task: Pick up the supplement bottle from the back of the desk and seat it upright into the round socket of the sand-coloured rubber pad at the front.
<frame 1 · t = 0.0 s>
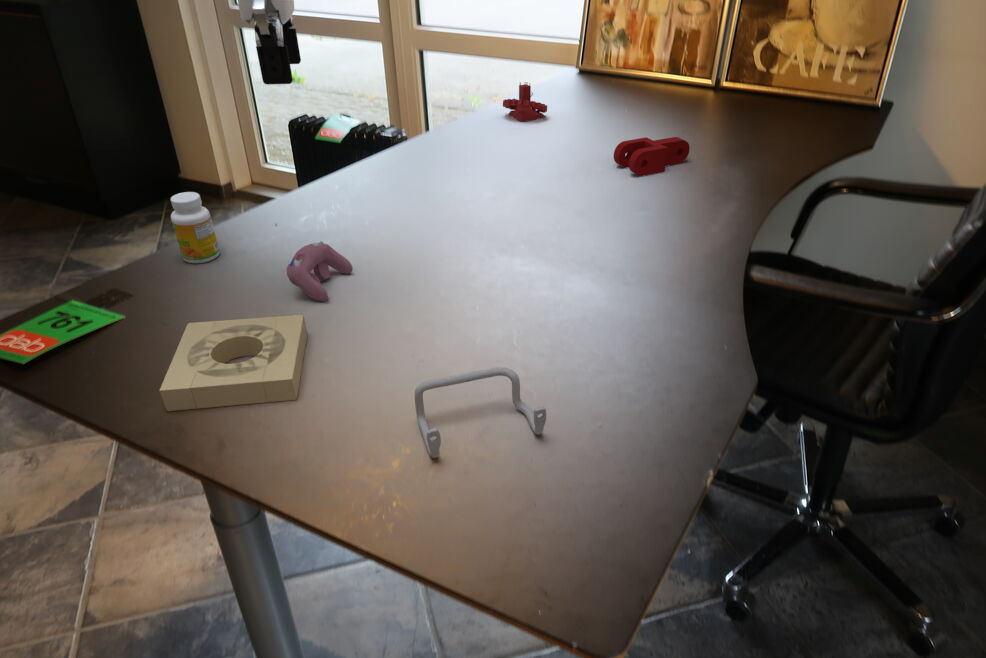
hand: (283, 73, 84), 30 cm above the table, tool pointing down, fingers open, 9 cm apart
video game controller: (322, 286, 103), on the table
red cross-shaped piece: (525, 118, 173), on the table
supplement bottle: (202, 257, 109), on the table
socket pad: (242, 369, 85), on the table
mechanical linkage: (653, 167, 146), on the table
bracket: (479, 434, 77), on the table
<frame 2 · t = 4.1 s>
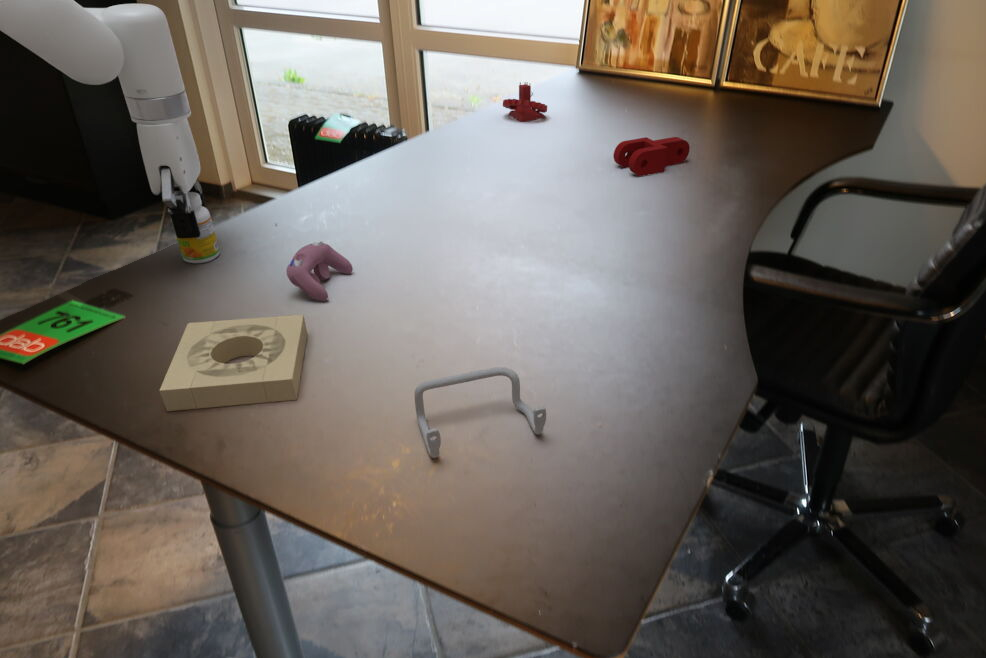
hand: (193, 227, 106), 5 cm above the table, tool pointing down, fingers closed on supplement bottle, 5 cm apart
supplement bottle: (202, 257, 109), on the table, touching gripper
everything else where it was.
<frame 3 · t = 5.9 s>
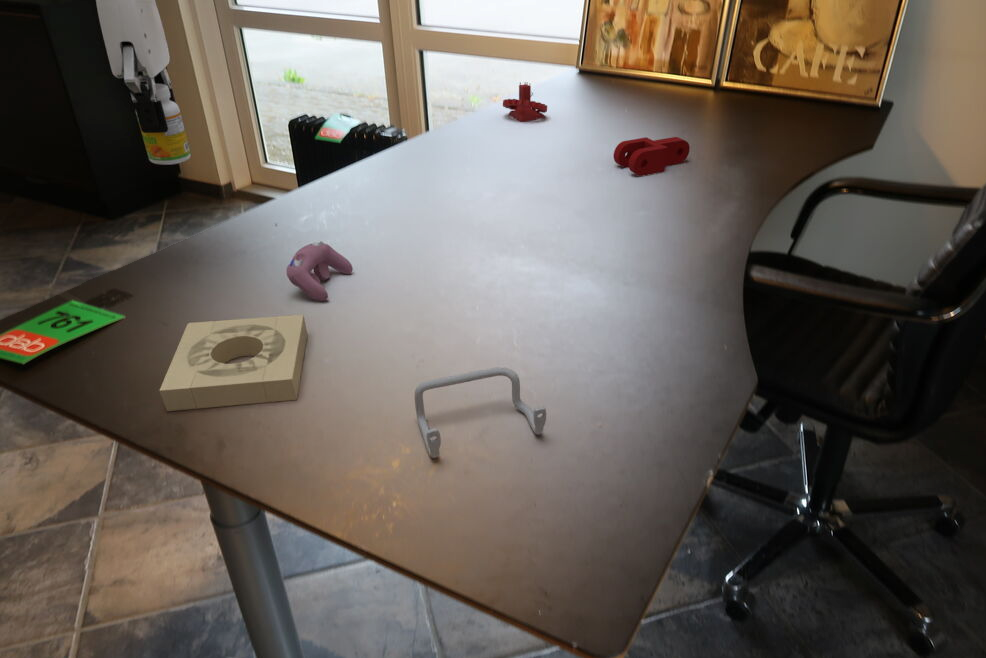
hand: (161, 123, 96), 21 cm above the table, tool pointing down, fingers closed on supplement bottle, 5 cm apart
supplement bottle: (171, 160, 99), point 16 cm above the table, touching gripper
everything else where it was.
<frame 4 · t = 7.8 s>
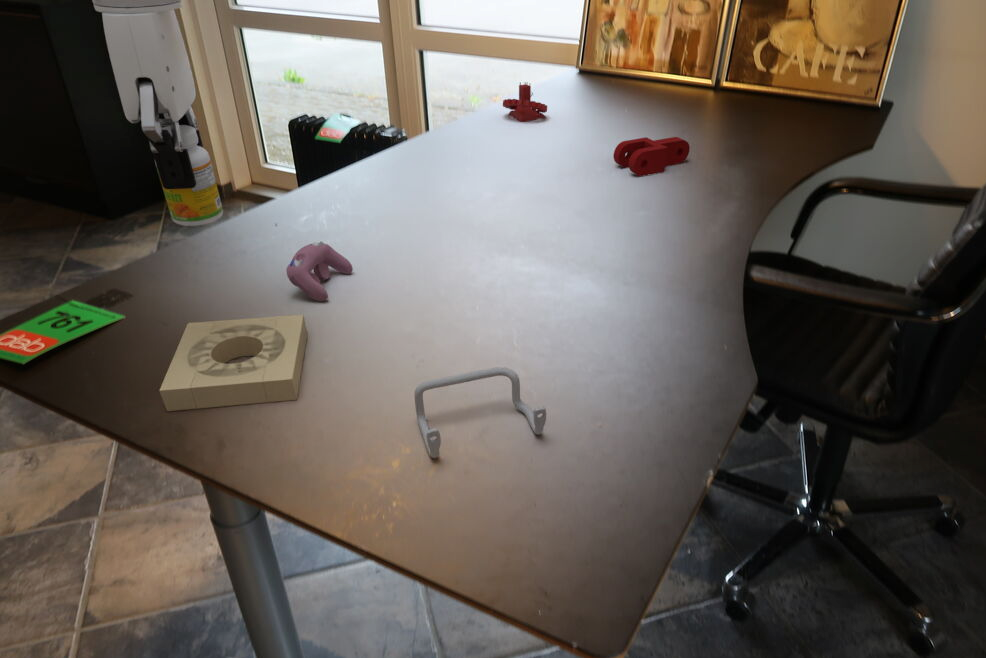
hand: (186, 175, 76), 22 cm above the table, tool pointing down, fingers closed on supplement bottle, 5 cm apart
supplement bottle: (198, 218, 79), point 17 cm above the table, touching gripper
everything else where it was.
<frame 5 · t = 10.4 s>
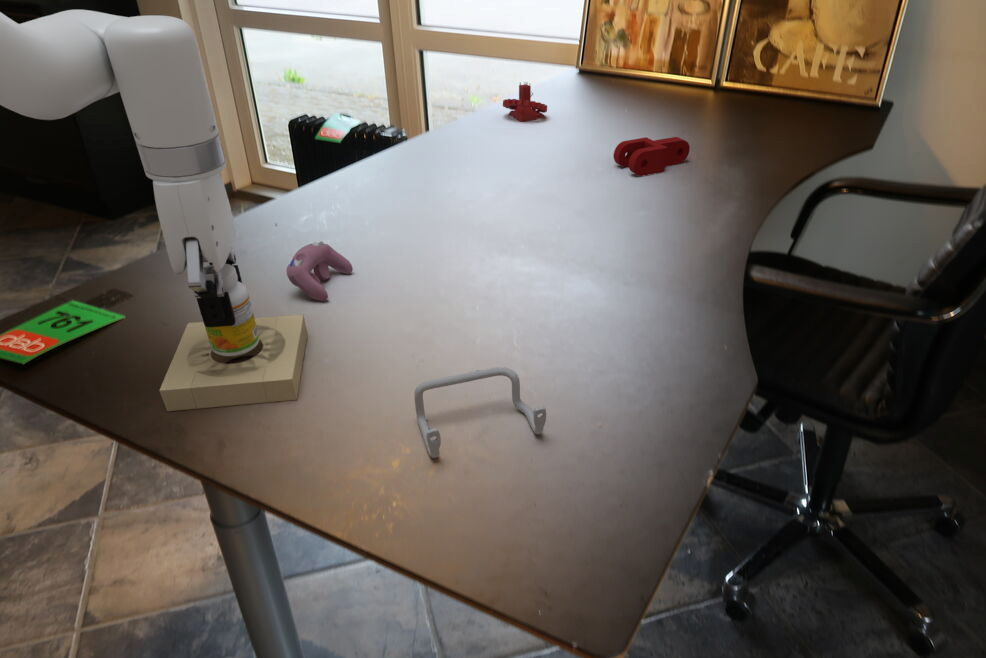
hand: (225, 309, 80), 9 cm above the table, tool pointing down, fingers closed on supplement bottle, 5 cm apart
supplement bottle: (236, 346, 83), point 3 cm above the table, touching gripper
everything else where it was.
when the fingers open (5 cm above the table, at t = 11.9 s): supplement bottle stays where it is, resting in socket pad.
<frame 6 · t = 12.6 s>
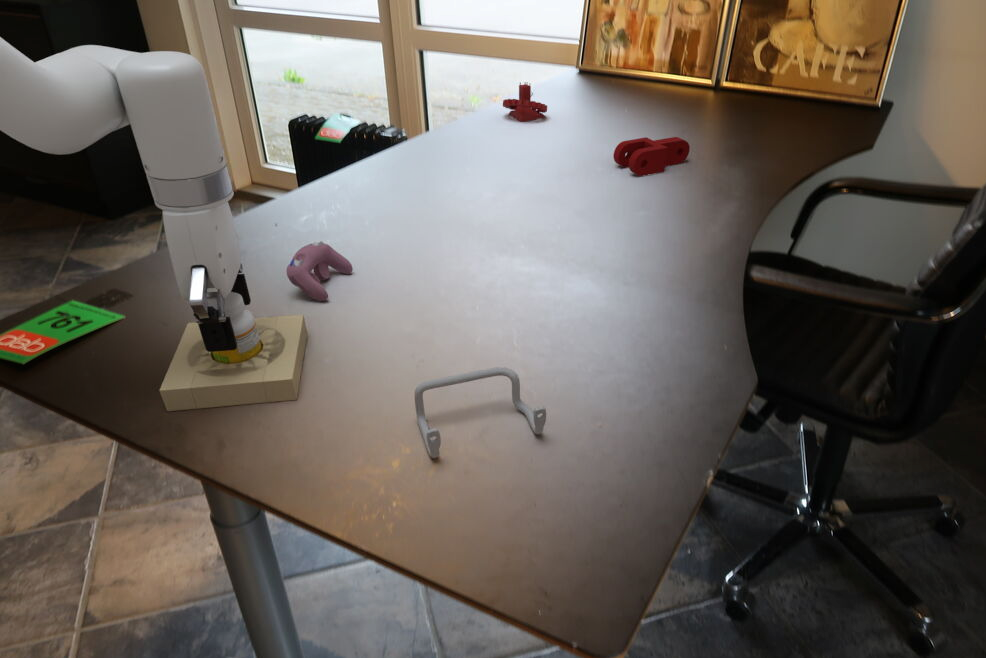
hand: (230, 326, 82), 6 cm above the table, tool pointing down, fingers open, 9 cm apart
supplement bottle: (243, 371, 85), resting in socket pad
everything else where it was.
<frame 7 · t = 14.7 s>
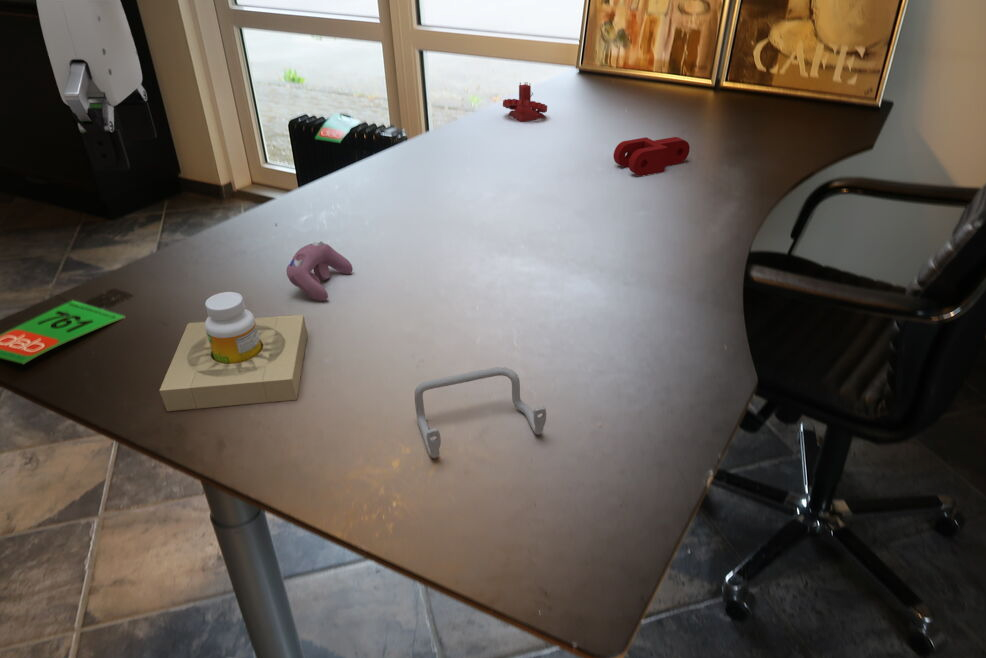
hand: (128, 153, 75), 25 cm above the table, tool pointing down, fingers open, 9 cm apart
nothing on the table moved.
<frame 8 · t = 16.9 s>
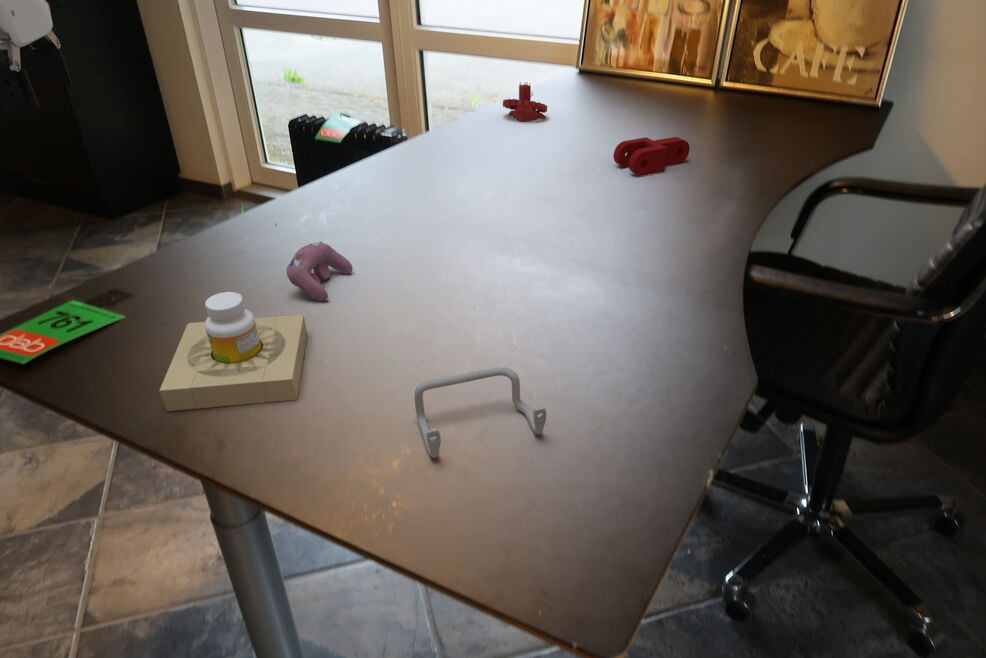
hand: (41, 97, 79), 28 cm above the table, tool pointing down, fingers open, 9 cm apart
nothing on the table moved.
at the end: supplement bottle 0.0 cm off-centre in the socket pad, point 0.0 cm above the socket pad's base; supplement bottle tilted 0°; the gripper is holding nothing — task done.
